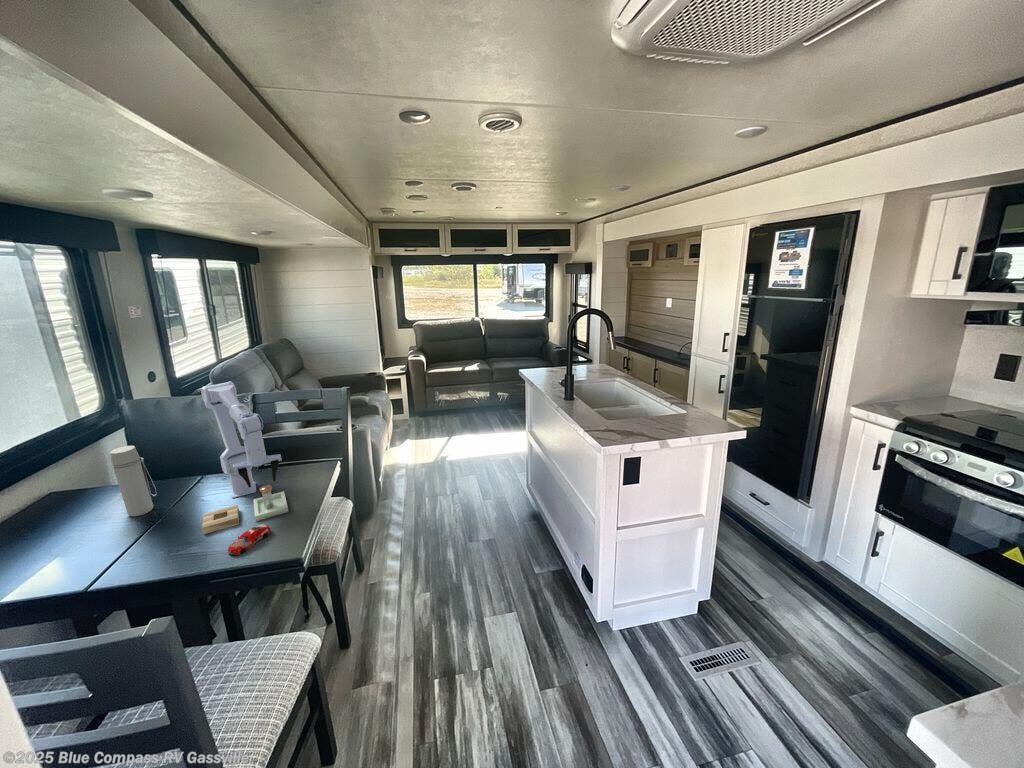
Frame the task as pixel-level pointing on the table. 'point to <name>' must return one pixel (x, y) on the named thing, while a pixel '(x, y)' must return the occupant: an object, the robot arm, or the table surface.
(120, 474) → the water bottle
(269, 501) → the pin
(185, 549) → the table surface
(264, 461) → the robot arm
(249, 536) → the race car
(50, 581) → the table surface
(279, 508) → the tray
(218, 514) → the socket block
